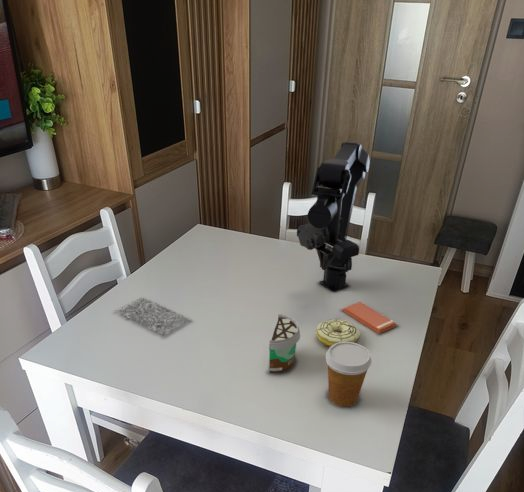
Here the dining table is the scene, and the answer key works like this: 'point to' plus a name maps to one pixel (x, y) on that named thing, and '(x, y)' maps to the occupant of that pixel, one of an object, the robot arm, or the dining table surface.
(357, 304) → the orange flat bar
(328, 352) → the disposable coffee cup
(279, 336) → the food container
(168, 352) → the dining table surface
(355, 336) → the decorated donut
